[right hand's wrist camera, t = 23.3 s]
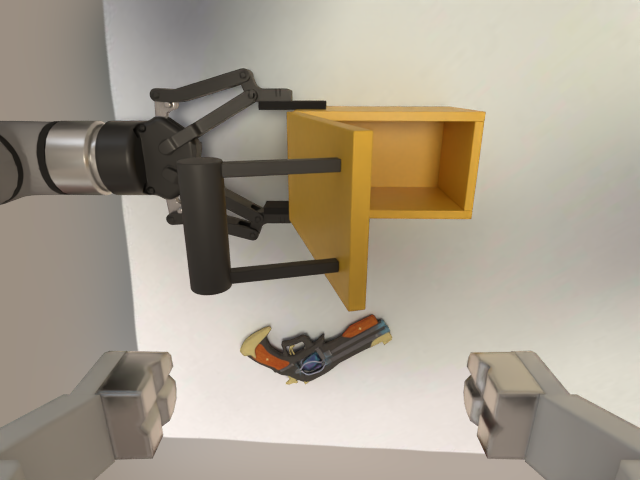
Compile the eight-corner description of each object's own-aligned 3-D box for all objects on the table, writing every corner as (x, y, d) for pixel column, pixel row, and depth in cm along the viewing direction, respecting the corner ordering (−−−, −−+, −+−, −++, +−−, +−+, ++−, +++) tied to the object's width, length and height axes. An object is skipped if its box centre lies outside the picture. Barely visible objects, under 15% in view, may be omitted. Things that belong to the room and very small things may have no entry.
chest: (451, 106, 46) (486, 111, 36) (441, 192, 50) (471, 219, 40) (300, 106, 47) (292, 111, 36) (301, 191, 50) (294, 217, 40)
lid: (373, 130, 20) (168, 134, 18) (365, 310, 23) (192, 333, 21) (298, 111, 36) (185, 112, 34) (299, 219, 39) (197, 226, 37)
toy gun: (234, 349, 55) (273, 407, 57) (359, 280, 53) (396, 342, 55) (238, 339, 57) (275, 395, 59) (357, 274, 55) (392, 333, 57)
